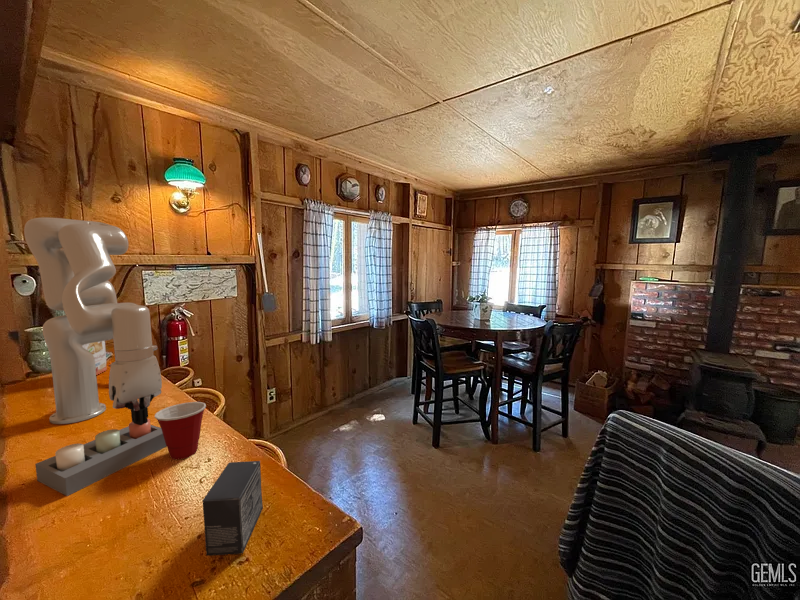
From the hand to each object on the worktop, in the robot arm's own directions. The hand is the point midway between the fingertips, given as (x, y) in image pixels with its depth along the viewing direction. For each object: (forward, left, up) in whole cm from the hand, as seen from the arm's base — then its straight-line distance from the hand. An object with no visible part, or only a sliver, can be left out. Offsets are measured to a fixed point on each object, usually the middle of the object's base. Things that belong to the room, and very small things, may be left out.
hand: (140, 422), depth 86 cm
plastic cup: (+12, +3, -7) cm, 14 cm away
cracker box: (-74, +23, -7) cm, 78 cm away
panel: (0, -7, -7) cm, 10 cm away
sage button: (0, -7, -4) cm, 8 cm away
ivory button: (0, -14, -5) cm, 15 cm away
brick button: (0, 0, -5) cm, 5 cm away
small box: (+45, -10, -7) cm, 46 cm away
